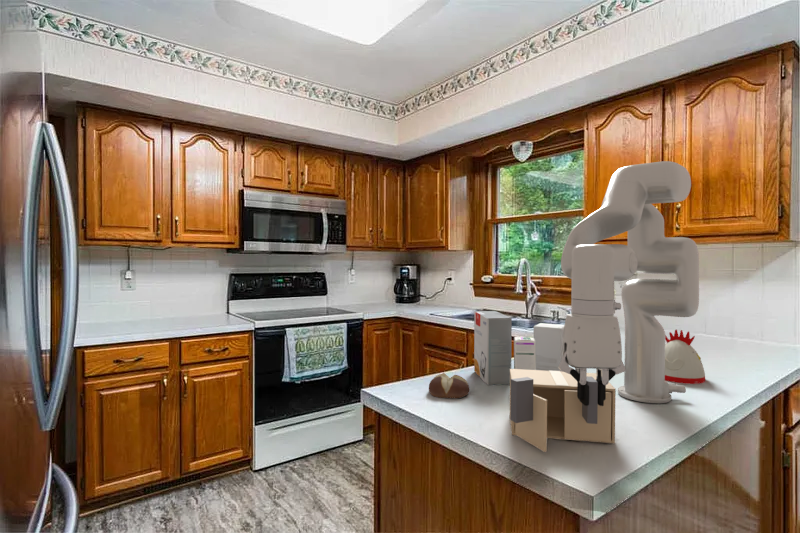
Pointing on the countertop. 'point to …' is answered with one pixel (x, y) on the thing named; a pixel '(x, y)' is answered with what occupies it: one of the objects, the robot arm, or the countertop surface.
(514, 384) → the flap left
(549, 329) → the supplement box
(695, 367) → the kitchen timer
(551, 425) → the carton
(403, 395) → the countertop surface
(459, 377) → the bread
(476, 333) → the hard drive box
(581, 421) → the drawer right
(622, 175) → the robot arm
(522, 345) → the syrup box
